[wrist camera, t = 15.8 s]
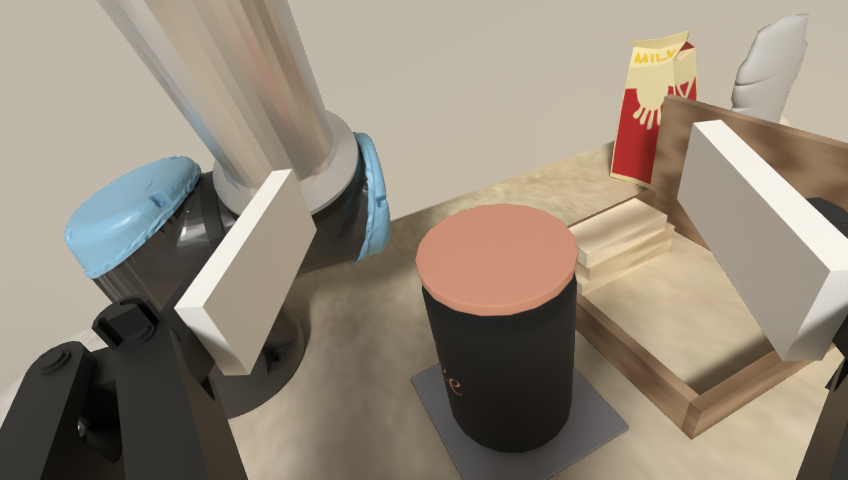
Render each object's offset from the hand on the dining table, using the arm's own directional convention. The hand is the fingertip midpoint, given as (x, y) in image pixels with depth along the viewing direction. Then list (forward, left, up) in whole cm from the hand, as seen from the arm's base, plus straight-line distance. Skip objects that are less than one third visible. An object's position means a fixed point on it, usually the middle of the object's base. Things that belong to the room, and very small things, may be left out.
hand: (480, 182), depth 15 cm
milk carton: (-31, +44, -30) cm, 61 cm away
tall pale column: (-19, +46, -30) cm, 58 cm away
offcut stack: (-18, +25, -30) cm, 43 cm away
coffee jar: (-8, +5, -29) cm, 30 cm away
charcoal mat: (-9, +5, -29) cm, 31 cm away
